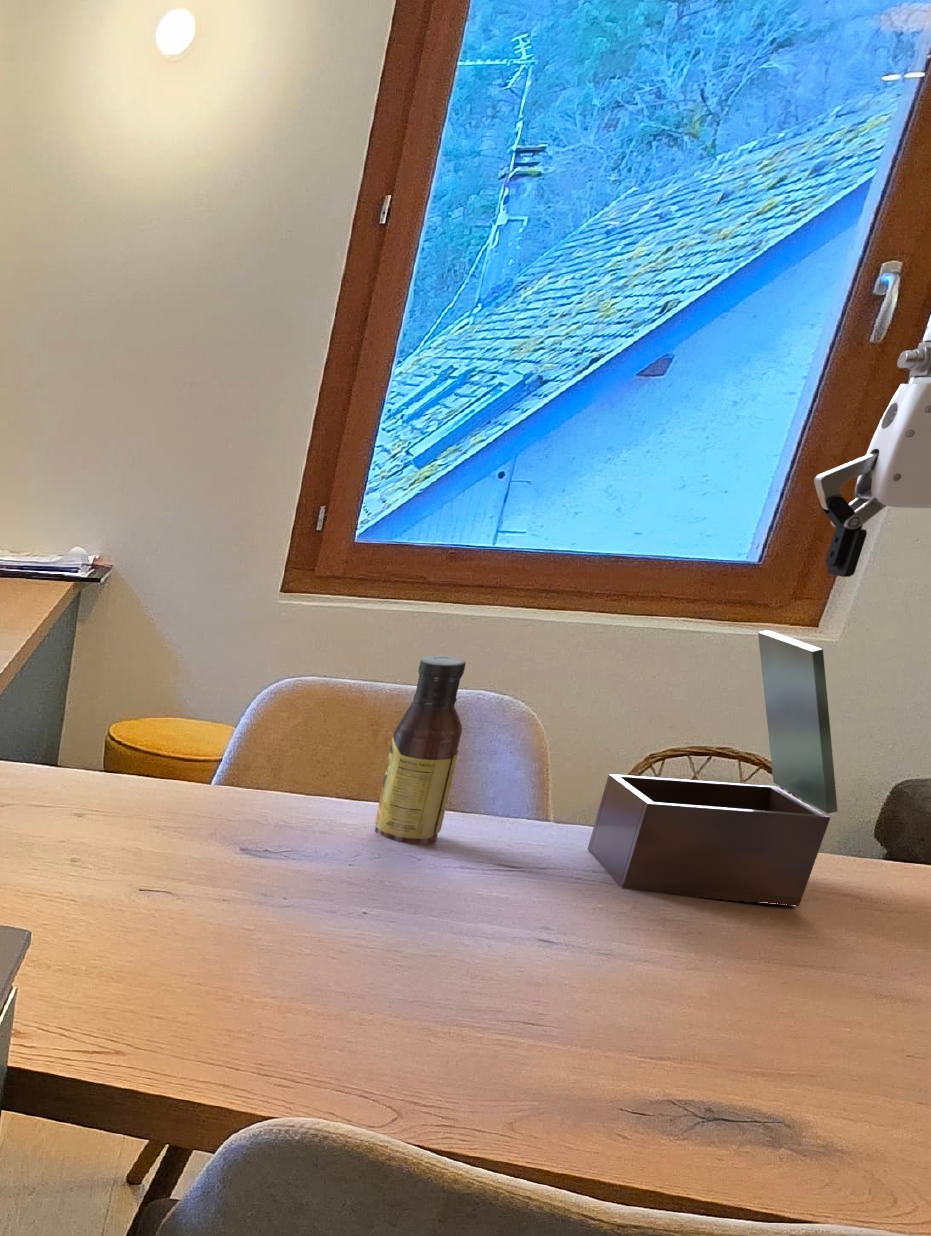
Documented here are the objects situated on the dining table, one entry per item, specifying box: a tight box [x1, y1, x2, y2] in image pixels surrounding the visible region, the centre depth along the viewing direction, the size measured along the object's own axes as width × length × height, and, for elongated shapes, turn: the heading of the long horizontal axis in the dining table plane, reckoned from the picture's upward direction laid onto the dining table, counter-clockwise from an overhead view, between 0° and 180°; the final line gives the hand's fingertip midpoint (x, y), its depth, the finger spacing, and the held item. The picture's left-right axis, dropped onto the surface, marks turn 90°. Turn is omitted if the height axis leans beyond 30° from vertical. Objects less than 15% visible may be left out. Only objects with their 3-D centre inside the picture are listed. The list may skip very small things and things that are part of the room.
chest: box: [587, 773, 831, 907], centre depth 133 cm, size 15×12×9 cm
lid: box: [757, 629, 838, 815], centre depth 127 cm, size 15×12×1 cm
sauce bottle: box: [374, 655, 466, 845], centre depth 141 cm, size 7×6×20 cm
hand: (903, 576), depth 119 cm, fingers open, 9 cm apart
